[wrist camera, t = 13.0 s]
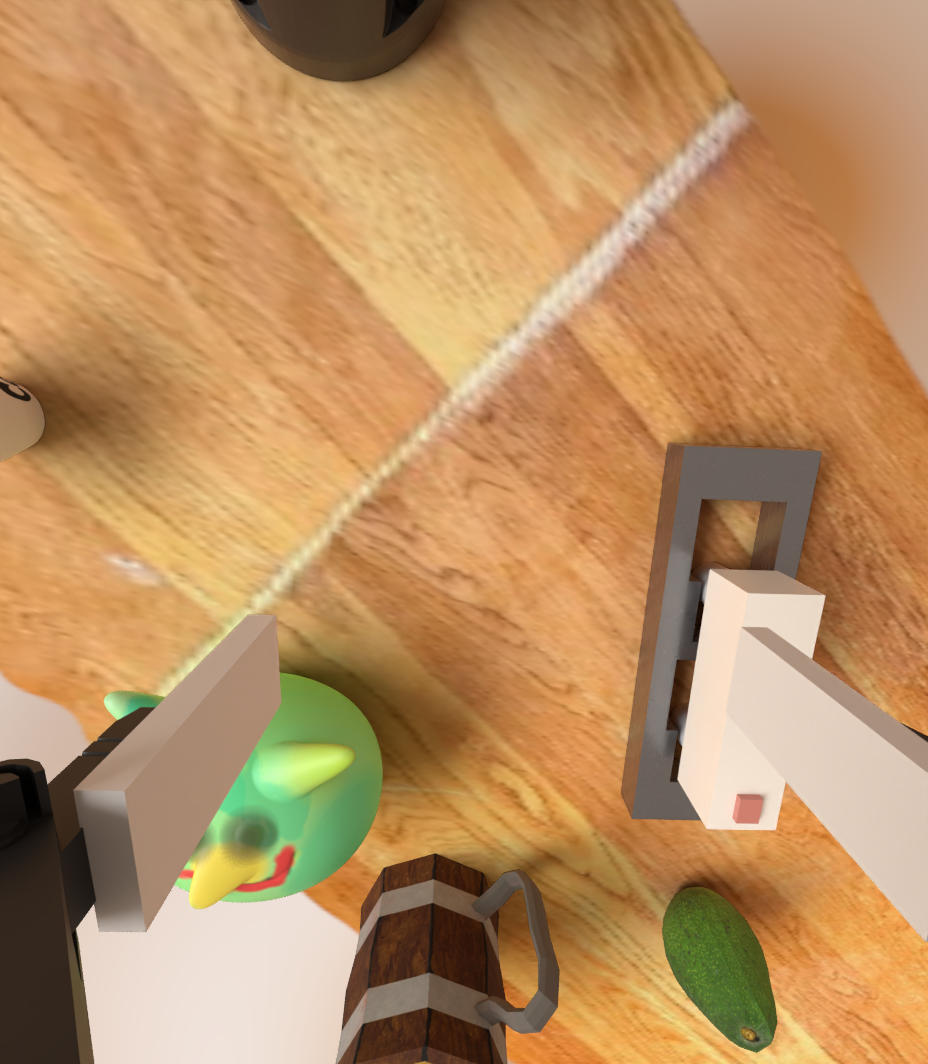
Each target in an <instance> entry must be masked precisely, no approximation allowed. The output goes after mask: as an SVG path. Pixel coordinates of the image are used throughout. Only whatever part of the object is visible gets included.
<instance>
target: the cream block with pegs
mask: <svg viewBox="0 0 928 1064" xmlns="http://www.w3.org/2000/svg"><path fill="white" fill-rule="evenodd" d="M692 575H693V576H694V577H696V578H697V579H699V580H700V581H701V582H702V584H701V590H700V596H699V601H700V602H702V603H703V604H704V611H703V617H702V624H701V630H700V637H699V643H698V650H697V656H696V663H695V669H694V675H693V682H692V688H691V695H690V701H689V703H685V704H682V705H680V706H678V707H676V708H675V709H674V710H673V711H672V713H671V714H670V717H669V718H670V720H671V721H672V723H673V724H674V726H675V727H676V728H677V730H678V733H677V740H678V741H679V743H680V744H681V746H682V753H681V760H680V766H679V773H678V779H677V780H678V781H679V783H680V785H681V786H682V788H683V790H684V791H685V793H686V795H687V797H688V798H689V800H690V802H691V803H692V805H693V807H694V808H695V810H696V812H697V813H698V815H699V817H700V818H701V820H702V822H703V824H704V825H705V827H706V829H733V830H776V825H777V820H778V816H779V811H780V806H781V802H782V797H783V792H784V788H785V783H786V781H785V780H784V779H783V778H782V777H781V775H780V774H779V773H778V772H777V771H776V770H775V769H774V767H773V766H772V765H771V764H770V763H769V762H768V761H767V759H766V758H765V757H764V756H763V755H762V754H761V752H760V751H759V750H758V749H757V748H756V747H755V746H754V744H753V743H752V742H751V741H750V740H749V739H748V738H747V736H746V735H745V734H744V733H743V732H742V731H741V730H740V728H739V727H738V726H737V725H736V724H735V723H734V721H733V720H732V719H731V718H730V717H729V716H728V715H727V713H726V707H727V701H728V696H729V690H730V684H731V679H732V673H733V668H734V662H735V656H736V651H737V645H738V640H739V634H740V628H741V627H768V628H769V629H770V630H772V631H773V632H775V633H776V634H777V635H779V636H780V637H782V638H783V639H784V640H786V641H787V642H788V643H790V644H791V645H793V646H794V647H795V648H797V649H798V650H800V651H801V652H802V653H804V654H805V655H807V656H808V657H809V658H811V659H812V657H813V652H814V648H815V643H816V638H817V634H818V629H819V624H820V620H821V615H822V610H823V606H824V601H825V596H826V595H824V594H822V593H820V592H818V591H816V590H814V589H812V588H810V587H808V586H806V585H804V584H802V583H801V582H799V581H797V580H795V579H793V578H791V577H789V576H787V575H785V574H783V573H781V572H779V571H767V570H729V569H728V568H726V567H724V566H723V565H721V564H719V563H715V562H708V563H704V564H701V565H700V566H698V567H697V568H696V569H695V570H694V571H693V572H692Z"/></svg>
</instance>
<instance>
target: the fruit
mask: <svg viewBox="0 0 928 1064" xmlns="http://www.w3.org/2000/svg"><path fill="white" fill-rule="evenodd" d="M662 933H663V941H664V947H665V952H666V957H667V960H668V962H669V964H670V966H671V969H672V971H673V973H674V975H675V977H676V979H677V981H678V983H679V984H680V986H681V987H682V989H683V990H684V991H685V993H686V994H687V996H688V997H689V998H690V999H691V1000H692V1002H693V1003H694V1004H695V1005H696V1006H697V1007H698V1008H699V1010H700V1011H701V1012H702V1013H703V1014H704V1015H705V1016H706V1017H707V1018H708V1019H709V1020H710V1022H711V1023H712V1024H713V1025H714V1026H715V1027H716V1028H717V1029H718V1030H719V1031H720V1032H721V1033H722V1034H723V1035H725V1036H726V1037H727V1038H728V1039H729V1040H730V1041H732V1042H733V1043H735V1044H736V1045H738V1046H739V1047H741V1048H744V1049H747V1050H750V1051H753V1052H756V1053H757V1052H759V1051H760V1050H762V1049H764V1048H765V1047H767V1046H769V1045H770V1044H771V1043H772V1041H773V1038H774V1034H775V1030H776V1026H777V1015H776V1007H775V1001H774V997H773V993H772V988H771V984H770V978H769V972H768V967H767V964H766V960H765V957H764V953H763V950H762V948H761V945H760V943H759V941H758V939H757V937H756V936H755V934H754V932H753V931H752V929H751V927H750V926H749V924H748V922H747V921H746V919H745V918H744V917H743V916H742V915H741V914H740V913H739V912H738V911H737V910H736V909H735V907H734V906H733V905H732V904H731V903H730V902H729V901H727V900H726V899H725V898H723V897H722V896H721V895H720V894H718V893H716V892H714V891H713V890H711V889H707V888H703V887H699V886H698V887H690V888H685V889H684V890H682V891H680V892H679V893H677V894H676V895H675V896H674V898H673V899H672V901H671V902H670V904H669V906H668V908H667V910H666V913H665V916H664V918H663V928H662Z"/></svg>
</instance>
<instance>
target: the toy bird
mask: <svg viewBox="0 0 928 1064" xmlns="http://www.w3.org/2000/svg"><path fill="white" fill-rule="evenodd" d="M280 688H281V704H280V706H279V708H278V710H277V711H276V713H275V715H274V716H273V718H272V720H271V721H270V723H269V725H268V727H267V728H266V730H265V732H264V733H263V735H262V737H261V738H260V740H259V742H258V743H257V745H256V747H255V749H254V750H253V752H252V754H251V755H250V757H249V759H248V760H247V762H246V764H245V765H244V767H243V769H242V771H241V772H240V774H239V776H238V777H237V779H236V781H235V782H234V784H233V786H232V788H231V789H230V791H229V793H228V794H227V796H226V798H225V799H224V801H223V803H222V804H221V806H220V808H219V810H218V811H217V813H216V815H215V816H214V818H213V820H212V821H211V823H210V825H209V826H208V828H207V830H206V832H205V833H204V835H203V837H202V838H201V840H200V842H199V843H198V845H197V847H196V848H195V850H194V852H193V854H192V855H191V857H190V859H189V860H188V862H187V864H186V865H185V867H184V869H183V871H182V872H181V874H180V876H179V877H178V879H177V881H176V882H175V884H174V885H176V886H178V887H179V888H181V889H184V890H186V891H189V892H190V893H189V902H190V905H191V906H192V907H193V908H195V909H203V908H207V907H209V906H211V905H213V904H215V903H216V902H218V901H227V902H259V901H267V900H273V899H277V898H282V897H286V896H289V895H292V894H295V893H298V892H301V891H303V890H306V889H308V888H310V887H312V886H314V885H316V884H318V883H320V882H321V881H323V880H325V879H326V878H328V877H329V876H330V875H332V874H333V873H334V872H336V871H337V870H338V869H339V868H340V867H342V866H343V865H344V864H345V863H346V862H347V861H348V860H349V859H350V857H351V856H352V855H353V854H354V853H355V852H356V850H357V849H358V848H359V846H360V845H361V843H362V842H363V840H364V839H365V837H366V835H367V833H368V831H369V830H370V827H371V825H372V823H373V821H374V818H375V815H376V812H377V809H378V806H379V802H380V797H381V791H382V782H383V767H382V757H381V752H380V748H379V744H378V741H377V738H376V735H375V733H374V731H373V729H372V727H371V725H370V723H369V722H368V720H367V718H366V717H365V716H364V714H363V713H362V712H361V711H360V709H359V708H358V707H357V706H356V705H355V704H354V703H353V702H351V701H350V700H349V699H348V698H347V697H345V696H344V695H342V694H341V693H339V692H338V691H336V690H334V689H333V688H331V687H329V686H327V685H325V684H322V683H320V682H318V681H315V680H312V679H309V678H306V677H302V676H298V675H293V674H288V673H280ZM165 698H166V697H162V696H157V695H152V694H147V693H141V692H134V691H115V692H111V693H109V694H108V695H107V696H106V697H105V699H104V704H105V706H106V708H107V709H108V711H109V712H110V713H111V714H112V715H113V716H114V717H115V718H116V719H117V720H119V719H121V718H122V717H124V716H126V715H128V714H130V713H131V712H133V711H135V710H137V709H138V708H140V707H157V706H158V705H159V704H160V703H161V702H162V701H163V700H164V699H165Z"/></svg>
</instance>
